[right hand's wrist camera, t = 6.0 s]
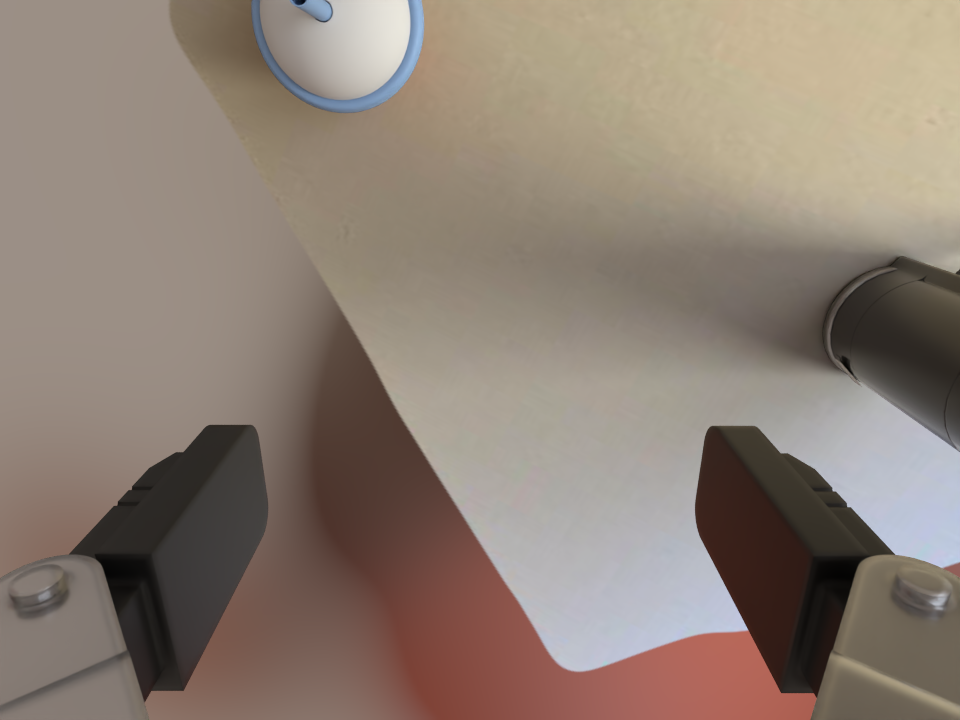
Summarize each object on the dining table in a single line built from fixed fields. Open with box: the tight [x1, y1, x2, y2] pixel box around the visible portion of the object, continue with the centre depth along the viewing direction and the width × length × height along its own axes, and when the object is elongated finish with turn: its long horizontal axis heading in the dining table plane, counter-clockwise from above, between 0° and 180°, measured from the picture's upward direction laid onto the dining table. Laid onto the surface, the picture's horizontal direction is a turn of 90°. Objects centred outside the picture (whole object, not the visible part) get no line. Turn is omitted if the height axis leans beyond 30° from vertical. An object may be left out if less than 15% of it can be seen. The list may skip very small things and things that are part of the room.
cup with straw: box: [251, 0, 424, 113], centre depth 34 cm, size 9×9×18 cm
